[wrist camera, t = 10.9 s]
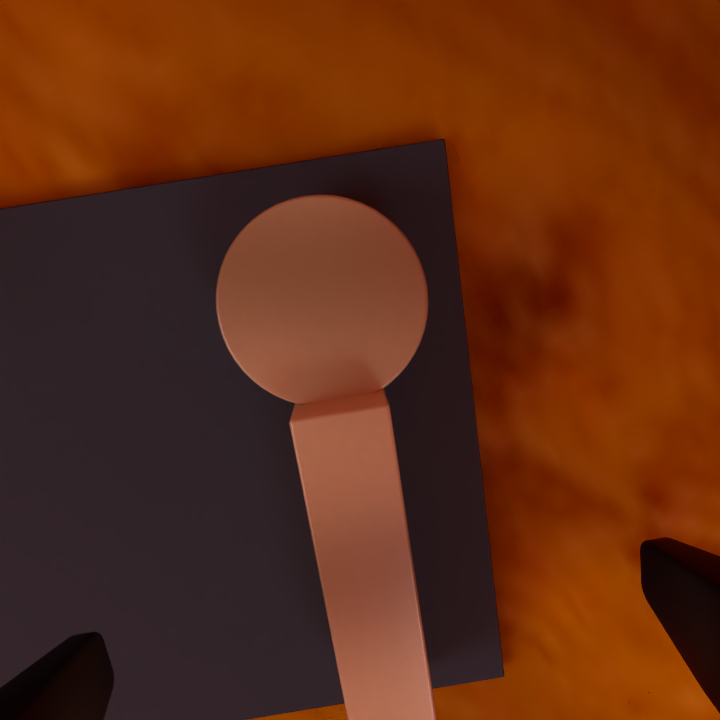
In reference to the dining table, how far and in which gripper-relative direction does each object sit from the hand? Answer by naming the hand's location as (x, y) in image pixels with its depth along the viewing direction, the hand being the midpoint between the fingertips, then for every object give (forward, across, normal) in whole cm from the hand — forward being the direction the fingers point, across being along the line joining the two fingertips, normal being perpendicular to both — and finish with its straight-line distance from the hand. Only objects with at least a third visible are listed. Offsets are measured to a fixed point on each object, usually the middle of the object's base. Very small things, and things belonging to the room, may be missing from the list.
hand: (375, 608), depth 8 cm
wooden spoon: (+6, 0, 0) cm, 6 cm away
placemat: (+6, +8, 0) cm, 10 cm away
